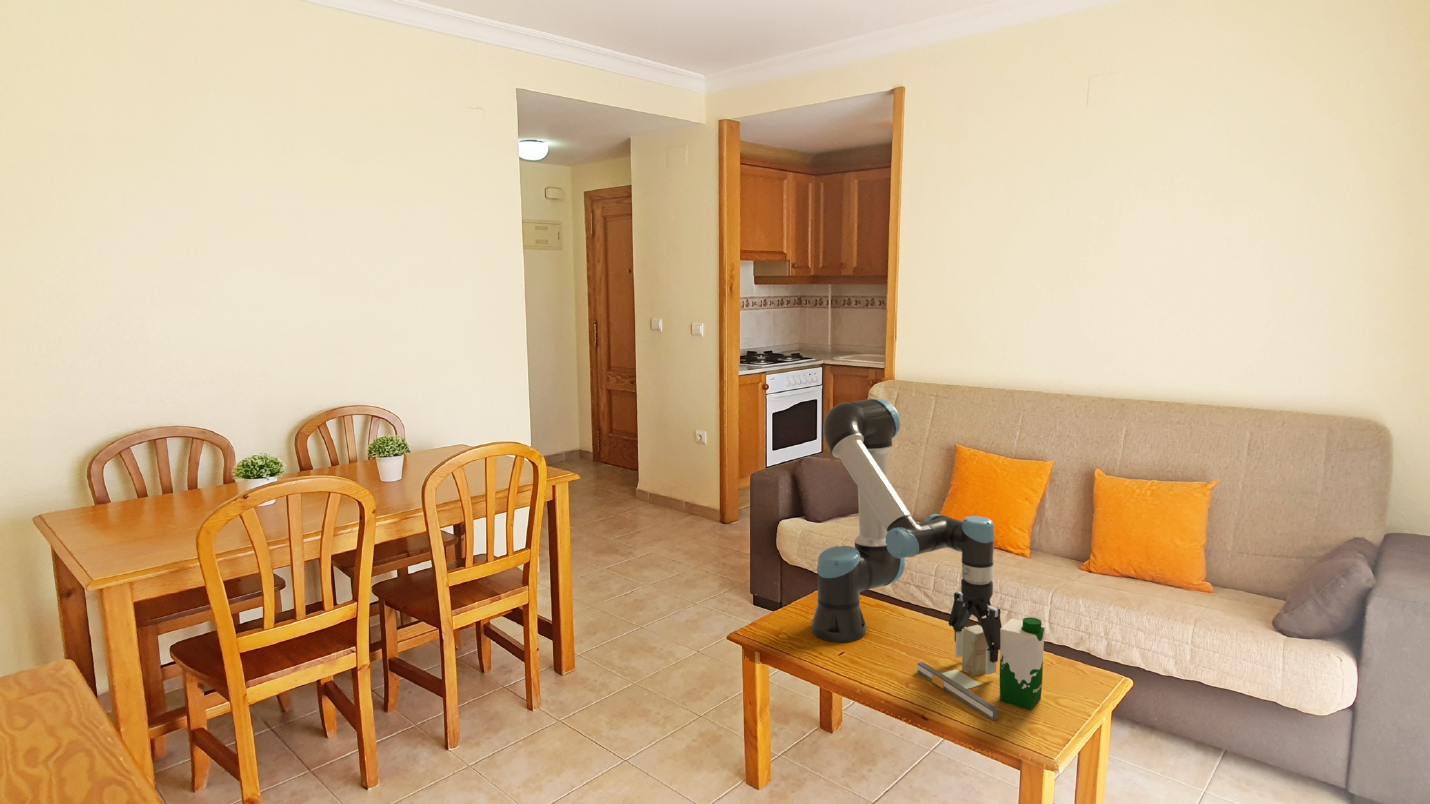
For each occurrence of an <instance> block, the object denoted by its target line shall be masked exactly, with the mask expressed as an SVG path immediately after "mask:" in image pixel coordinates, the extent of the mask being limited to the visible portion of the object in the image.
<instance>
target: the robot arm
mask: <svg viewBox="0 0 1430 804" xmlns="http://www.w3.org/2000/svg"><path fill="white" fill-rule="evenodd" d="M822 428H823V429H822V430H823V438H824V441H825V443H826V446H827V448H828V450H829V451H830V453H831V454H832V456H833V457H834V458H837V459H839V460H840V462H841V463H842V464H843V466H844V467H845V469H846V470H847V472H848V474H849V475H850V477H851V478H852V480H853V481H854V483H855V484H856V486H857V499H858V502H857V503H858V523H859V524H858V526H859V527H858V528H859V530H858V531H859V535H857V537H856V538H855V539H854V547H853V546H850V545H841V546H839V545H836V546H835V545H834V546H832V547H828V548H826V549H825V550H823V551H821V553H820V554H819V555H818V558H817V566H816V572H817V606H816V609H815V612H814V615H813V619H812V620H811V632H812V634H813V635H814V636H816V637H817V638H819V639H822V640H824V641H829V642H836V643H837V642H838V643H848V642H854V641H857V640H859V639H862V638H863V637H865V635H866V634H867V633H866V632H867V625H866V621H865V618H864V615H863V611H862V609H861V606H860V593H861V592H865V591H868V590H872V589H876V588H879V587H884V586H885V587H886V586H889V585H890V584H893V583H896V582H897V581H898V580H900V579H901V577H902V575H904V571H905V568H906V558H907V559H908V558H913V557H916V556H918V555H922V554H925V553H930V552H934V551H938V550H942V549H951V550H954V551H957V552H961V577H962V578H961V581H960V586H961V587H960V591H956V592H954V593H953V604H952V607H951V611H950V615H949V619H948V625H949V626H950V627H952V629H953V631H954V642H955V648H954V649H955V653H954V654H955V655H954V656H955V657H956V658H959V657H962V650H963V628H966V625H967V623H968V621H969V620H970V618H971V617H972V616H973V617H975V618H976V619H977V622H978V623H979V624H980V626H981V627H982V629H983V632H984V635H985V638H986V641H987V644H988V647H989V648H986V672H985V673H984V674H986V675H992V674H995V673H996V672H997V663H998V660H999V651H1000V642H1001V640H1000V629H1001V628H1002V627H1003V626H1002V622H1001V621H1002V620H1001V608H1000V607H996V608H995V606H994V607H993V606H992V603H991V598H992V597H993V593H994V583H993V580H994V552H995V551H994V550H995V538H996V535H995V524H994V522H993V520H991V519H990V518H988V517H985V516H978V515H970V516H966V517H964V518H963V519H962V520H959V519H956V518H953V517H950V516H948V515H945V514H938V513H932V514H930V515H928V517H927V518H925V519H924V521H922V522H917V520H916V519H915V517H914V516H913V515H912V514H911V512H910V511H909V508H907V506H906V505H905V503H904V501H903V500H902V499H901V497H900V496H899V494H898V493H897V491H896V489H894V487H893V485H892V484H891V482H890V481H889V476H888V474H889V473H888V472H889V471H888V452H889V450H890V449H891V448H893V438H895V437H896V436H897V435H898V432H900V428H901V419H900V415H899V413H898V410H897V409H896V407H894V405H893V404H892V403H891V402H890V401H889V400H886V399H884V398H869V399H861V400H853V401H845V402H840V403H838V404H836V405H834V406H833V407H832V408H830V409H829V411H828V412H827V414H826V416H825V418H824V420H823V427H822Z"/></svg>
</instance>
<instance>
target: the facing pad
mask: <svg viewBox="0 0 1430 804" xmlns="http://www.w3.org/2000/svg"><path fill="white" fill-rule="evenodd" d="M941 673H942V674H943V675H945V676H946V677H948V678H950V679H951V680H953V681H955V682H956V683H958V684H959V685H961V686H963V687H964V688H966V689H967V690H969V689H973V688H977V687H980V686H982V684H981V683H980V682H978V681H976V680H974V679H973V678H972V677H969V676H968V675H966V674H964V672H961V671H960V670H958V669H953V670H952V669H951V670H948V671H945V672H941Z"/></svg>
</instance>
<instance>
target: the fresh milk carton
mask: <svg viewBox="0 0 1430 804" xmlns="http://www.w3.org/2000/svg"><path fill="white" fill-rule="evenodd" d="M1045 633H1046V625H1042V620H1041V619H1038V618H1036V617H1031V616H1030V617H1024V618H1023V619H1022V620H1020V619H1016V618H1010V619H1009V620H1007V622H1006V623H1005V624H1004V625H1003V626H1002V628H1001V629H1000V640H1001V642H1000V650H999V654H1000V655H999V701H1000V702H1002V703H1005V704H1007V705H1008V704H1009V705H1011V706H1014V707H1018V708H1021V709H1025V710H1027V711H1032V709H1033V708H1034V707H1035V706H1036V705H1037V704H1038V703H1039V701H1040V700H1041V699H1042V690H1043V671H1044V645H1045V635H1046V634H1045Z"/></svg>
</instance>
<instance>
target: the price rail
mask: <svg viewBox="0 0 1430 804" xmlns="http://www.w3.org/2000/svg"><path fill="white" fill-rule="evenodd" d="M916 670H917V673H918V674H919V675H921V676H923V677H924V678H925V679H927V680H929V681H931V682H932V683H933V684H934V685H937V686H938V687H940V689H943V690H945V691H946V692H947V693H949V694H950V695H952V696H954V697H955V698H956V699H958V700H960V701H962V702H963V703H965V704H966V705H967V706H969V707H971V708H972V709H974V710H975V711H977V712H979V713H980V714H982V715H983V716H985V717H986V718H987V719H989V720H991V721H996V720H998V719H999V718H998V717H999V716H998V715H999V708H998V707H996V706H995V705H994V704H991V703H990V702H989V701H987V700H985V699H984V698H982V697H980V696H979V695H977V694H975V693H974V692H972V691H970V690H969V689H966V688H964V687H963V686H961V685H959V684H958V683H956V682H955V681H953V680H951V679H950V678H948V677H946V676H945V675H943V674H942V673H943V672H940V671H939V670H937V669H935V668H934V667H932V666H931V665H928V664H927V663H926V662H924V661H920V662H917V665H916Z"/></svg>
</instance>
